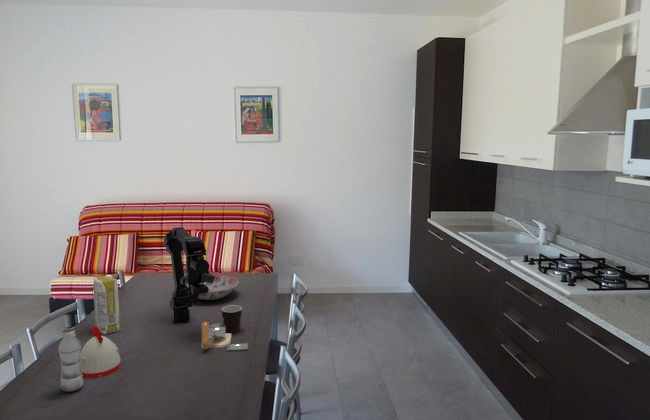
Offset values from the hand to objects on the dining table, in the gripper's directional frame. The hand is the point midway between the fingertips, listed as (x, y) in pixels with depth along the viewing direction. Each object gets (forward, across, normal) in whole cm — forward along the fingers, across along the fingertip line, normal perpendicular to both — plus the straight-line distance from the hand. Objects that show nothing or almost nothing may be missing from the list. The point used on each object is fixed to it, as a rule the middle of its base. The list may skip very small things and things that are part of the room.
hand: (194, 304), depth 194 cm
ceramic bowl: (+13, +42, -22) cm, 49 cm away
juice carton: (+13, +23, +30) cm, 40 cm away
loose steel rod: (+12, -24, -9) cm, 28 cm away
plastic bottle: (+13, -22, +48) cm, 54 cm away
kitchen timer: (+13, -11, +38) cm, 42 cm away
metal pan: (+11, -14, -2) cm, 18 cm away
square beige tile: (+13, -12, -5) cm, 18 cm away
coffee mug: (+13, -4, -15) cm, 21 cm away
